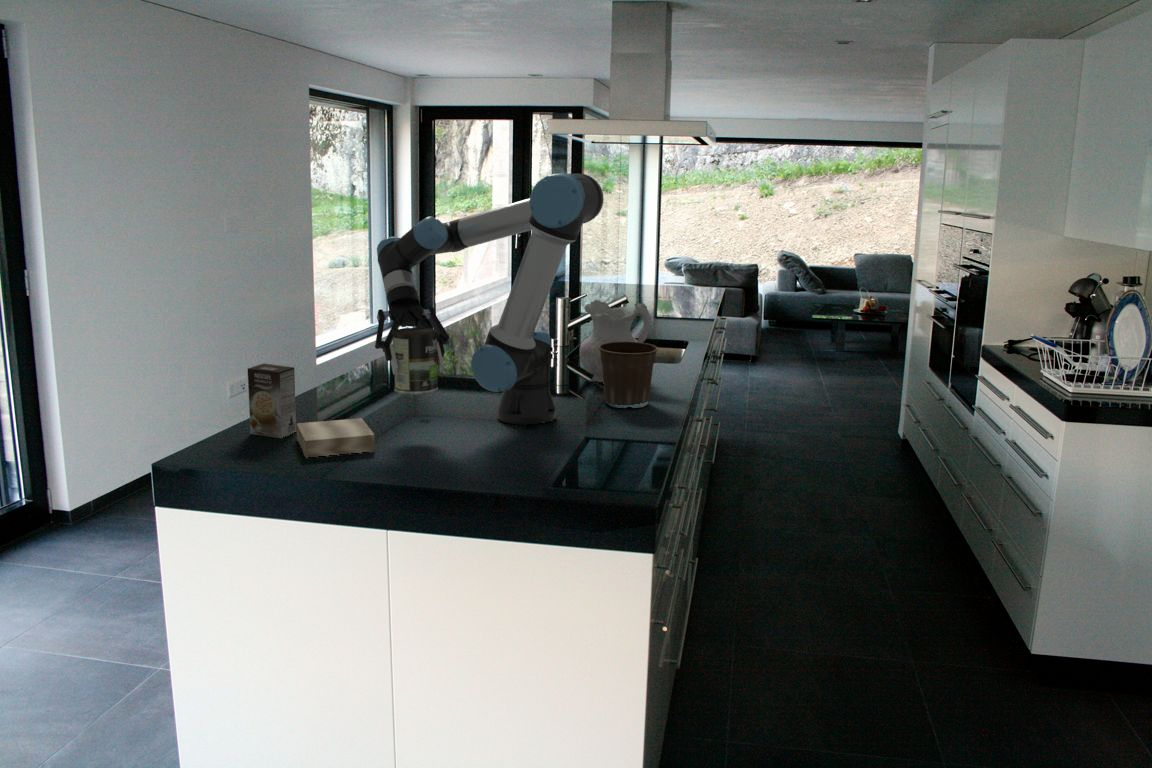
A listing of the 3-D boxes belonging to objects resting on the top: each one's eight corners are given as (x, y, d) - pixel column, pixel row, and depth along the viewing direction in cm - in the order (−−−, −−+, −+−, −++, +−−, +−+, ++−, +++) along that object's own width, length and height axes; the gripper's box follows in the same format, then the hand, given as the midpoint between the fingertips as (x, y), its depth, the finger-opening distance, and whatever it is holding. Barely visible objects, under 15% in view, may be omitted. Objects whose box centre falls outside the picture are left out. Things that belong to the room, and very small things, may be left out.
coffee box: (248, 434, 224) (245, 368, 220) (266, 427, 229) (262, 363, 226) (281, 439, 221) (278, 371, 217) (298, 432, 227) (295, 366, 223)
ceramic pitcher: (653, 381, 295) (657, 301, 291) (644, 390, 276) (648, 304, 272) (586, 376, 300) (588, 298, 296) (571, 385, 281) (574, 301, 277)
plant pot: (639, 414, 250) (641, 355, 246) (586, 406, 258) (587, 348, 254) (665, 402, 264) (667, 345, 260) (613, 394, 272) (615, 339, 268)
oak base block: (362, 434, 226) (361, 418, 225) (374, 451, 212) (374, 434, 211) (297, 440, 220) (296, 423, 219) (305, 458, 207) (305, 440, 206)
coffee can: (444, 386, 227) (443, 328, 224) (429, 396, 218) (427, 335, 214) (403, 384, 229) (402, 326, 226) (387, 393, 220) (385, 333, 216)
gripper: (444, 301, 238) (462, 374, 227) (352, 305, 229) (367, 381, 218) (449, 282, 232) (468, 356, 221) (356, 285, 223) (371, 363, 212)
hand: (418, 369), depth 220 cm, fingers closed on coffee can, 10 cm apart
